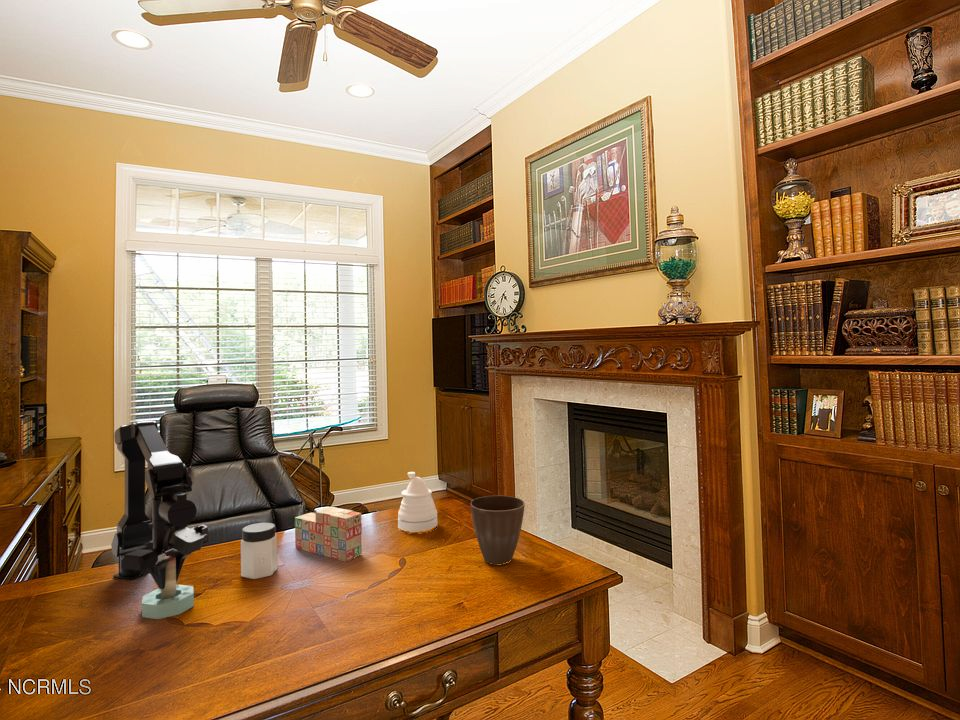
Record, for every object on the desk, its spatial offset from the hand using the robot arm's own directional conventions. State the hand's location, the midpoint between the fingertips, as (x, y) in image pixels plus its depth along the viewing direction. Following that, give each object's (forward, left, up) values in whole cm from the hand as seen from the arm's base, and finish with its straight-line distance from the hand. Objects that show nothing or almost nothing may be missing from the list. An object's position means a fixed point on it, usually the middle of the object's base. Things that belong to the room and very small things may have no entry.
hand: (168, 585), depth 121 cm
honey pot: (+33, +67, -5) cm, 75 cm away
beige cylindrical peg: (0, 0, -2) cm, 2 cm away
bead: (0, 0, -5) cm, 5 cm away
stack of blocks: (+16, +40, -5) cm, 44 cm away
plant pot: (+66, +45, -5) cm, 80 cm away
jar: (+7, +22, -5) cm, 24 cm away
